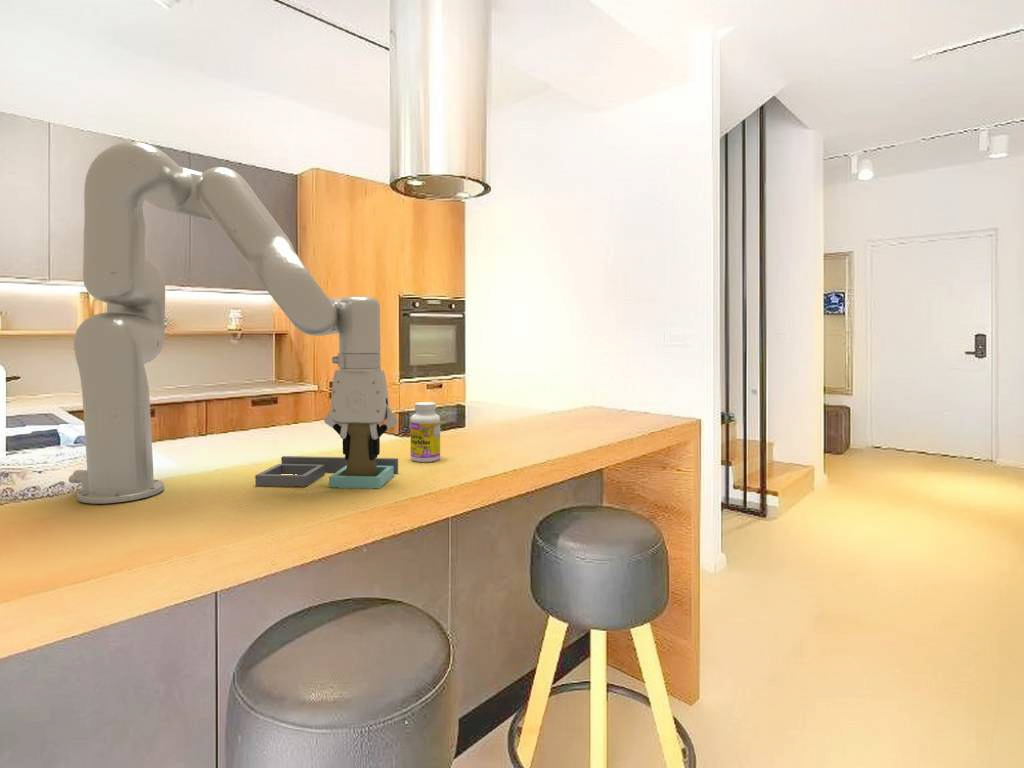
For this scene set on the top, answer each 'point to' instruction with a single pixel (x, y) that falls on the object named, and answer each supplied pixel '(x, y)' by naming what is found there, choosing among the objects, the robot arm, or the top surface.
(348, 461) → the cork
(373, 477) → the panel
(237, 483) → the top surface
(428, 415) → the supplement bottle
